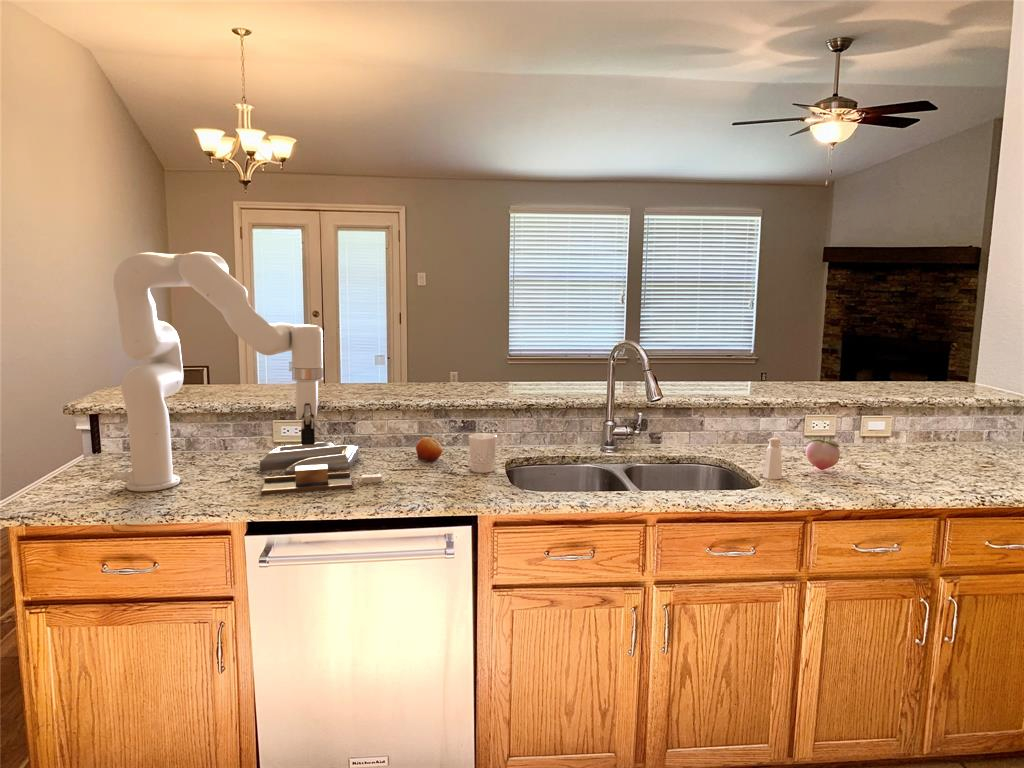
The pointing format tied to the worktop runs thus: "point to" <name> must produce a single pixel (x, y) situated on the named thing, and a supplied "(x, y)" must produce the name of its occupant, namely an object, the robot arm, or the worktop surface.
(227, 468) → the worktop surface
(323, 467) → the eraser
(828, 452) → the decorative fruit
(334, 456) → the emblem
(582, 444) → the worktop surface
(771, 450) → the pepper shaker
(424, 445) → the fruit
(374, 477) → the chalk lump
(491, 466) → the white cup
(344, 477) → the slate tray
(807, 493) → the worktop surface
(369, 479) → the chalk lump
